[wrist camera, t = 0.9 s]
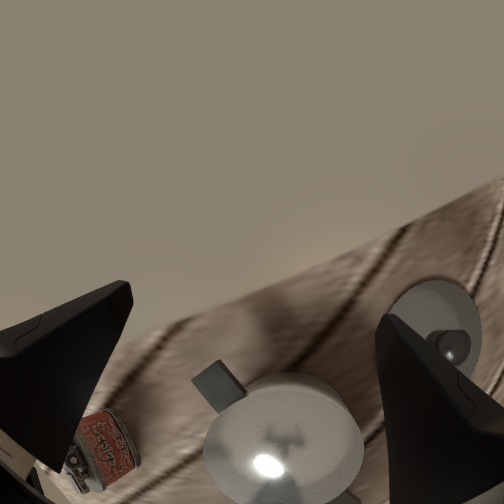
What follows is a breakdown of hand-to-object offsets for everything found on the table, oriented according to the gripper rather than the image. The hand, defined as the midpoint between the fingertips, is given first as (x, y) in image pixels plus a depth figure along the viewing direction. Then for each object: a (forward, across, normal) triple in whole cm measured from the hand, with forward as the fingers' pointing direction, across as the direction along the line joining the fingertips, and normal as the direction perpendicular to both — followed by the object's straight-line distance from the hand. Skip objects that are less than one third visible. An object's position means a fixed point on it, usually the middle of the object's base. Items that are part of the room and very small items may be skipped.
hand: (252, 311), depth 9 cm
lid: (+9, -17, +10) cm, 22 cm away
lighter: (+2, +14, +24) cm, 28 cm away
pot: (+5, -4, +17) cm, 18 cm away
